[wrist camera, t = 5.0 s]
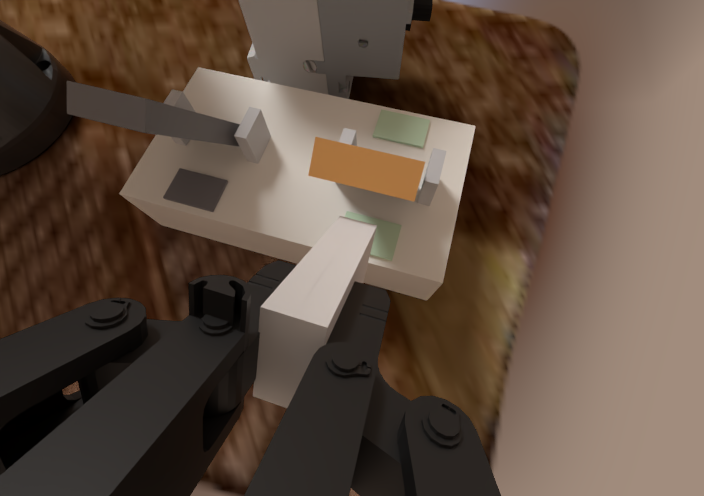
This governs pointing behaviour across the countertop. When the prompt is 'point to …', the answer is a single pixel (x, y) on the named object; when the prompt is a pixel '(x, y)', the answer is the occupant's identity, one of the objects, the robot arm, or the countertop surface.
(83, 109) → the lever
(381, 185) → the lever
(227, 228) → the console
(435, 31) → the countertop surface
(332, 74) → the circuit breaker
